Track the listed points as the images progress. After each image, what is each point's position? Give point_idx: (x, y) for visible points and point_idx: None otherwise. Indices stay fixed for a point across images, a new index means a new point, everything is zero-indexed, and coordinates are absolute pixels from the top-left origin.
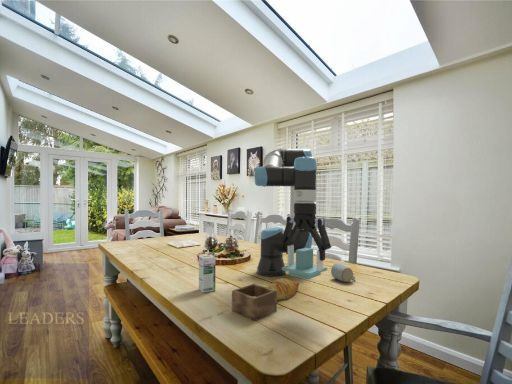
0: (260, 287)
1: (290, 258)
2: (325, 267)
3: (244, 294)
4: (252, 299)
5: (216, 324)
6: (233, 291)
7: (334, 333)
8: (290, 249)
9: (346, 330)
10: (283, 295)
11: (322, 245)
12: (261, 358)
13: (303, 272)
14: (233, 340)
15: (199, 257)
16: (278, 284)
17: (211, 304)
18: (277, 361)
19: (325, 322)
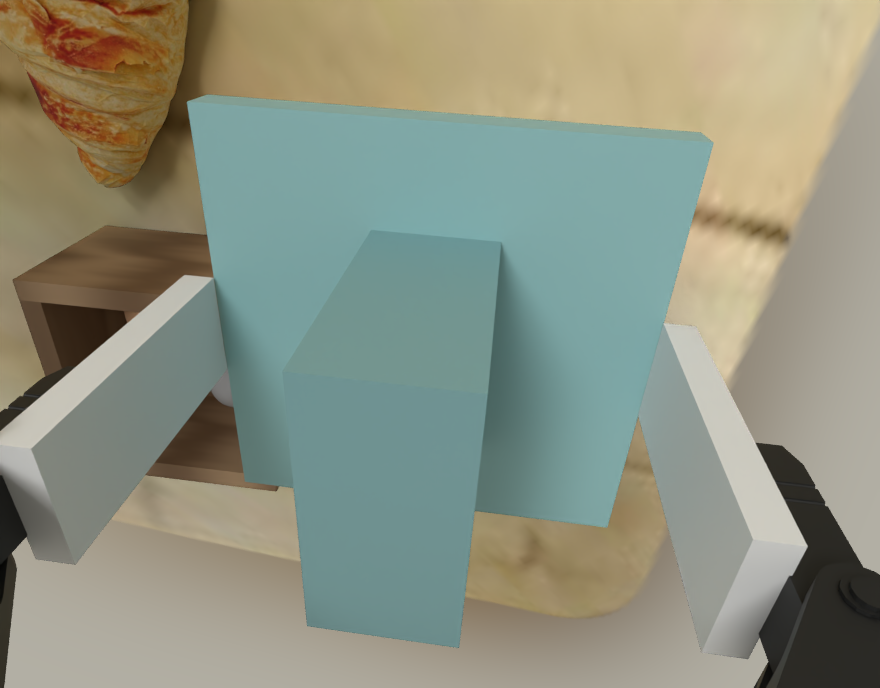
0: (111, 307)
1: (185, 391)
2: (691, 180)
3: (175, 471)
4: (258, 483)
5: (228, 511)
6: None
7: (733, 287)
8: (107, 490)
9: (798, 209)
10: (174, 36)
11: (849, 673)
12: (532, 582)
13: (529, 514)
14: None
15: None
16: (46, 13)
17: (9, 393)
18: (587, 572)
19: None
